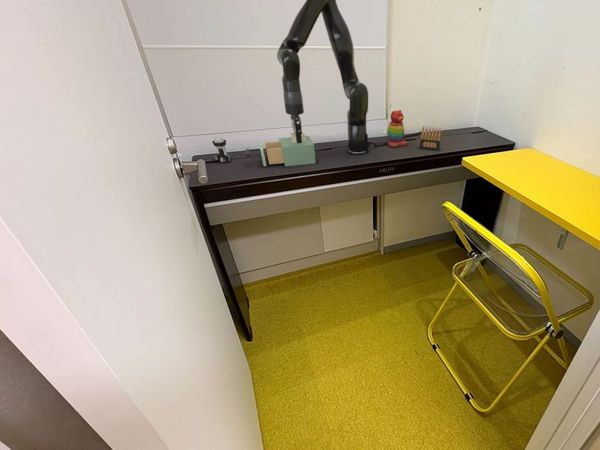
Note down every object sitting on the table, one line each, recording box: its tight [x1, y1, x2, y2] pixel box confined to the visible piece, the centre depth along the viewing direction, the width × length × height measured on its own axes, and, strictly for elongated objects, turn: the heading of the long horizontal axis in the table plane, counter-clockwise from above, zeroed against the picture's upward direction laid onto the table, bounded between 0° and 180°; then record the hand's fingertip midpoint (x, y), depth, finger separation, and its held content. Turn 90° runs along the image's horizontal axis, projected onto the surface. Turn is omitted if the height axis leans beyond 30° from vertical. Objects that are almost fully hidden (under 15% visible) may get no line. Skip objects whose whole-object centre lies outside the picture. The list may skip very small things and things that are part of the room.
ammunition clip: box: [419, 125, 442, 151], centre depth 166 cm, size 11×2×12 cm, turn 83°
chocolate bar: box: [290, 131, 306, 143], centre depth 140 cm, size 6×4×3 cm
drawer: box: [245, 140, 284, 167], centre depth 139 cm, size 18×11×7 cm, turn 114°
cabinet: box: [278, 135, 317, 168], centre depth 143 cm, size 14×12×9 cm
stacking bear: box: [386, 109, 408, 148], centre depth 168 cm, size 11×10×18 cm
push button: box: [212, 137, 231, 163], centre depth 138 cm, size 7×5×10 cm
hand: (298, 140), depth 141 cm, fingers closed on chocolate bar, 4 cm apart
